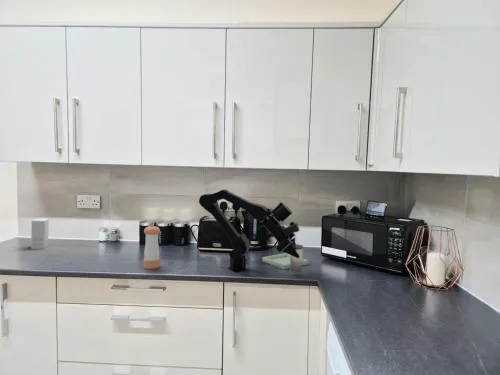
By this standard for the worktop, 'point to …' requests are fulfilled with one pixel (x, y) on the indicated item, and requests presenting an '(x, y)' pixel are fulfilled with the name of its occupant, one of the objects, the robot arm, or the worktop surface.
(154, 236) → the pepper shaker
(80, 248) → the worktop surface
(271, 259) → the tray
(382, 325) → the worktop surface
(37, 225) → the skincare box
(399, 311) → the worktop surface
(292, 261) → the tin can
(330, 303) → the worktop surface
